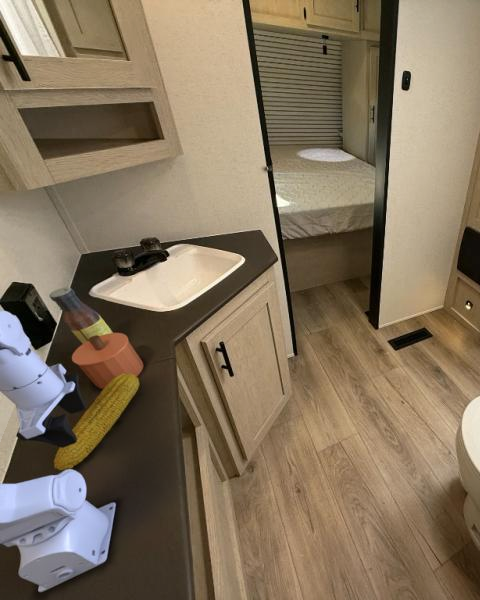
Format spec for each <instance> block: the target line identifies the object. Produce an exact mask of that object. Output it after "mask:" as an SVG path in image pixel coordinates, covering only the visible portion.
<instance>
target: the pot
mask: <svg viewBox="0 0 480 600" xmlns="http://www.w3.org/2000/svg"><path fill="white" fill-rule="evenodd" d="M77 366H78V367H79V368H80V369H81V370H82V371H83V373H84V374H85V376H87V378H88V379H89V380H90V381H91V382H92V383H93V385H94V386H95V387H97V388H99V389H101V390H103V389H104V388H105V386H107V384H108V383H109V382H110V381H111V380H112V379H113V378H114V377H116V376H118V375H121V374H123V373H125V374H134V375H135V376H136V377H137V378H138V376H139V375H140V374H141V372H142V371H143V369H144V362H143V361H142V359H141V358H140V356H139V354H138V353H137V352H136V350H135V349H134V347H133V346H132V344H131V343H130V341H129V342H128V345H127V346H126V348H125V349H124V350H123V351H122V352H120V353H119V354H118V355H116V356H114V357H113V358H111V359H109V360H107V361H104V362H101V363H98V364H94V365H88V366H81V365H77Z"/></svg>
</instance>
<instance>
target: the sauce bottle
mask: <svg viewBox="0 0 480 600" xmlns="http://www.w3.org/2000/svg"><path fill="white" fill-rule="evenodd" d="M49 298H50V299H51V301H53V302H55V303H56V305H57V306H58V307H59V308H60V310H61V312H62V321H63V322H64V323H65V325H66V326H67V327H68V329H69V330H70V331H71V332H72V333H73V335H74V336H75V337H76V338H77V339H78V340H79V342H81V345H82V344H84V343H86V342H87V341H88V339H89V338H90V337H92V336H96V335H98V336H101V335H105V334H109V333H114V332H113V331H112V329H111V328H110V326H109V325H108V324H107V323H106V322H105V319H103V318H102V316H101V314H100V313H98V311H96V310H95V309H93V308H92V307H90V306H89V305H87V304H86V303H84V302H82V301H81V300H80V299H79V297H78V296H77V295H76V292H75V290H74V289H72V287H68V286H67V287H66V286H65V287H61V288H58V289H55V290H53V291H51V292H50V293H49Z"/></svg>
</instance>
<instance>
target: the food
mask: <svg viewBox="0 0 480 600" xmlns="http://www.w3.org/2000/svg"><path fill="white" fill-rule="evenodd" d="M139 387H140V380H139V377H138V376H137V377H136V376H135V375H134V374H125V373H123V374H121V375H118V376H116V377H114V378H113V379H112V380H111V381H110V382H109V383H108V384H107V386H105V388H104V389H102V390H101V391H100V392H99V395H98V396H96V398H95V400H94V401H93V402H92V404H91V405H90V406H89V408H87V410H86V411H85V412H84V414H83V415H82V416H81V417H80V419H79V420H78V422H77V423H76V425H75V426H74V427H73V428H72V429H71V430H72V431H73V432H74V434H75V435H76V437H77V442H76V443H74V444H72V445H69V446H66V447H63V448H61V447H58V450H57V451H56V454H55V455H54V457H55V458H54V459H53V465H54V466H53V467H54V469H55V470H57V471H65V470H68V469H73V468H74V466H77V465H78V464H80V463H81V462H83V460H84V459H86V458H87V457H88V456H89V455H90V454H91V453H92V451H93V450H94V449H95V448H96V447H97V446H98V444H100V442H101V441H102V440H103V438H104V437H105V436H106V434H107V433H108V432H109V431H111V429H112V427H113V426H114V425H115V424H116V422H117V421H118V419H119V418H120V416H121V415H122V413H123V412H124V411H125V409H126V408H127V406H128V405H129V403H130V402H131V400H132V399H133V397H134V396H135V395H136V394H137V392H138V390H139Z"/></svg>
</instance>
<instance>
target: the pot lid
mask: <svg viewBox="0 0 480 600" xmlns="http://www.w3.org/2000/svg"><path fill="white" fill-rule="evenodd" d="M128 342H129V343H130V341H129V337H128V336H127V335H126V334H124V333H121V332H113V333H109V334H105V335H101V336H98V335H96V336H92V337H90V338H89V339H88V341H87V342H86V343H84V344H82V343H81V345H80V346H79V347H77V348H76V349H75V350H74V352H73V353H72V356H71V360H72V362H73V363H74V364H75V365H77V366H78V365H81V366H88V365H94V364H98V363H101V362H104V361H107V360H109V359H111V358H113V357H114V356H116V355H118V354H119V353H120V352H122V351H123V350H124V349H125V348H126V346H127V345H128Z"/></svg>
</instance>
